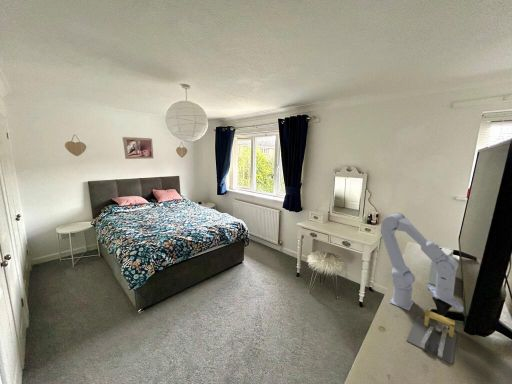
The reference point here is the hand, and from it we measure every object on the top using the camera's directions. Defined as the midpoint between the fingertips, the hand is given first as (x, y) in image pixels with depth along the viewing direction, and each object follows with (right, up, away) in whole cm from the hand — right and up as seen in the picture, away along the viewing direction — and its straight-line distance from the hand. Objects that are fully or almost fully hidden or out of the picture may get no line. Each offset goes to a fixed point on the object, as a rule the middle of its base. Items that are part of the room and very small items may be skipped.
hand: (441, 315), depth 90 cm
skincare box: (+28, +2, +33) cm, 43 cm away
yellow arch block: (-5, -4, -4) cm, 7 cm away
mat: (-10, -5, -7) cm, 13 cm away
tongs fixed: (-9, -5, -9) cm, 14 cm away
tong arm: (-13, -5, -9) cm, 16 cm away
